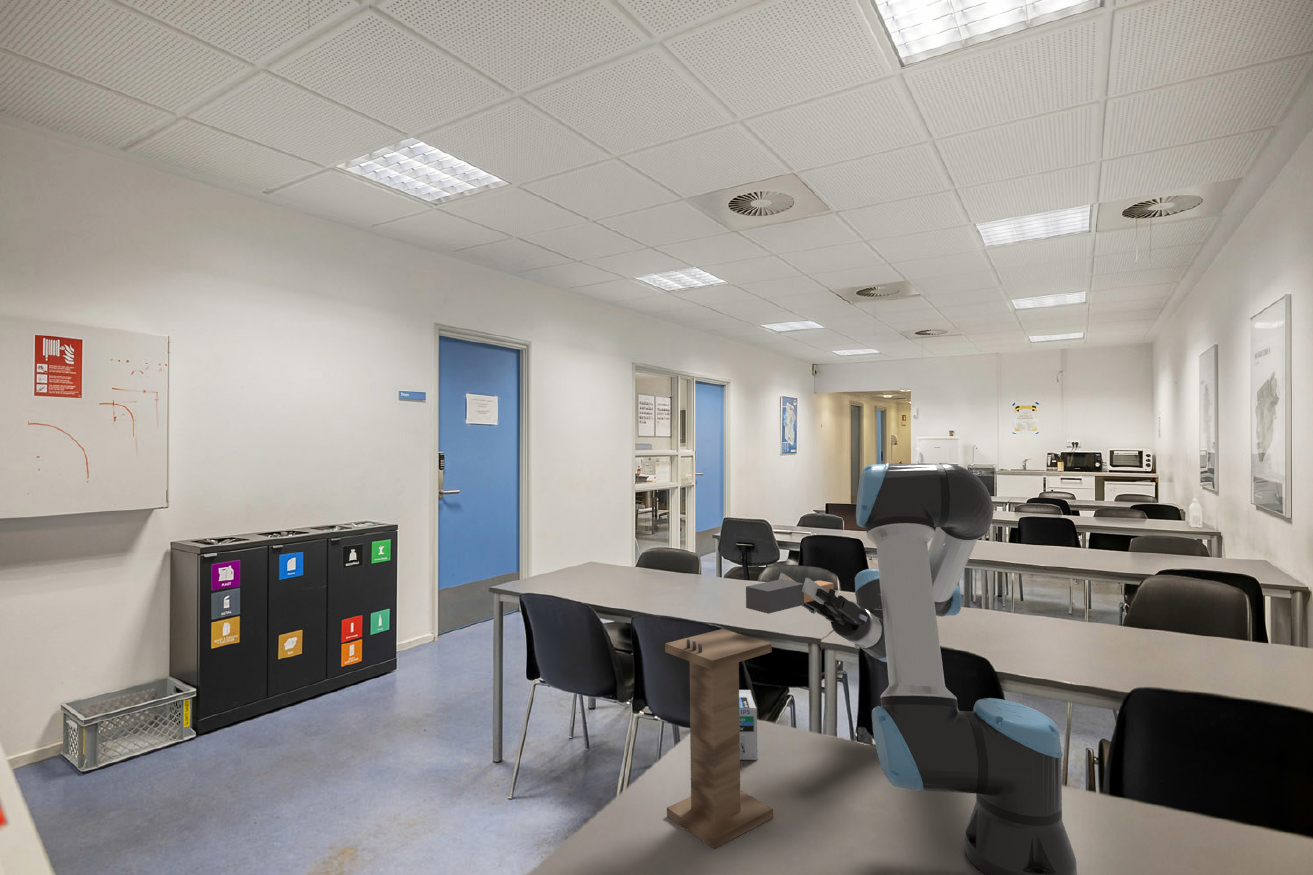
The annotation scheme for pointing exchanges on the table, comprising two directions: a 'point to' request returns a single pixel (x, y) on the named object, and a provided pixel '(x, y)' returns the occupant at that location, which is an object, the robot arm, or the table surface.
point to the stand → (716, 738)
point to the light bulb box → (747, 726)
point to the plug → (779, 595)
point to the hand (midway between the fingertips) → (792, 582)
